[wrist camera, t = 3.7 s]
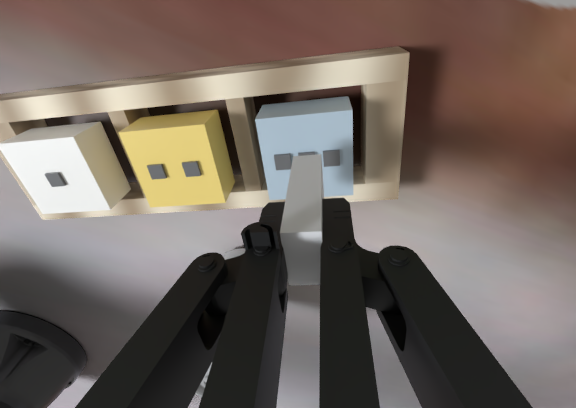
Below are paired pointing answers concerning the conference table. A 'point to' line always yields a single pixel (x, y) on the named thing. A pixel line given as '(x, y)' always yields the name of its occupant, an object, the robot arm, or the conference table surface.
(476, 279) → the conference table surface
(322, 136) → the tile
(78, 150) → the tile
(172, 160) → the tile
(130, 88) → the frame
